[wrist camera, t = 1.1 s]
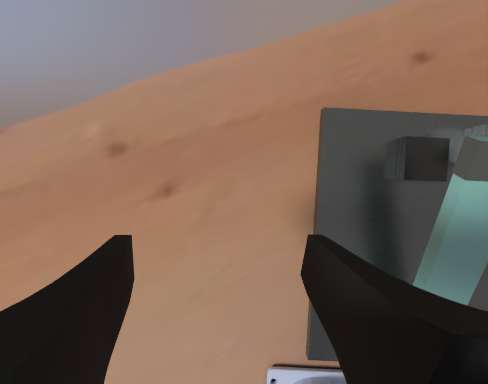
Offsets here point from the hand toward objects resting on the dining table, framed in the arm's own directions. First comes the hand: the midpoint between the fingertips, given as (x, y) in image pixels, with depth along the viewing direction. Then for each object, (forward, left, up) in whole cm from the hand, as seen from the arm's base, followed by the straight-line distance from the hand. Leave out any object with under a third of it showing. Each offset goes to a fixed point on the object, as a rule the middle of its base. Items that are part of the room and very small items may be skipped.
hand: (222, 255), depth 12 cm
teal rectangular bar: (-1, -13, -6) cm, 15 cm away
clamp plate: (-1, -13, -11) cm, 17 cm away
